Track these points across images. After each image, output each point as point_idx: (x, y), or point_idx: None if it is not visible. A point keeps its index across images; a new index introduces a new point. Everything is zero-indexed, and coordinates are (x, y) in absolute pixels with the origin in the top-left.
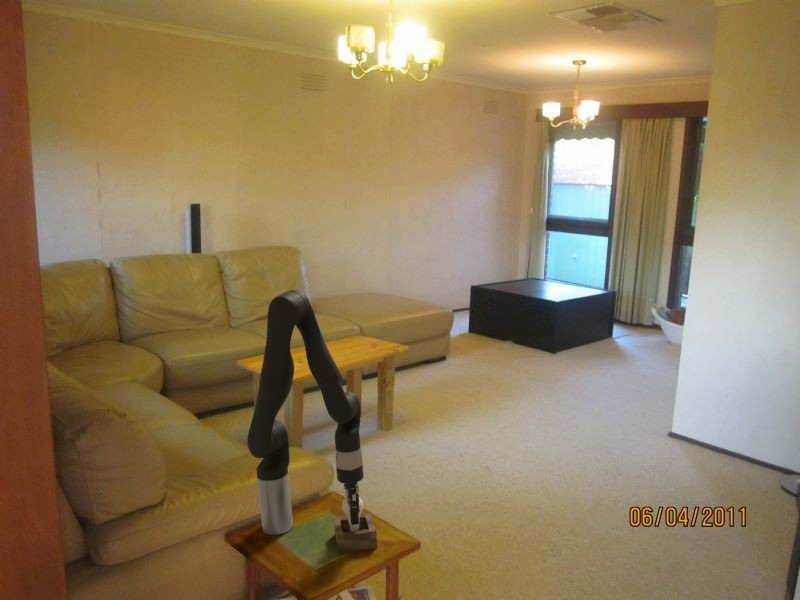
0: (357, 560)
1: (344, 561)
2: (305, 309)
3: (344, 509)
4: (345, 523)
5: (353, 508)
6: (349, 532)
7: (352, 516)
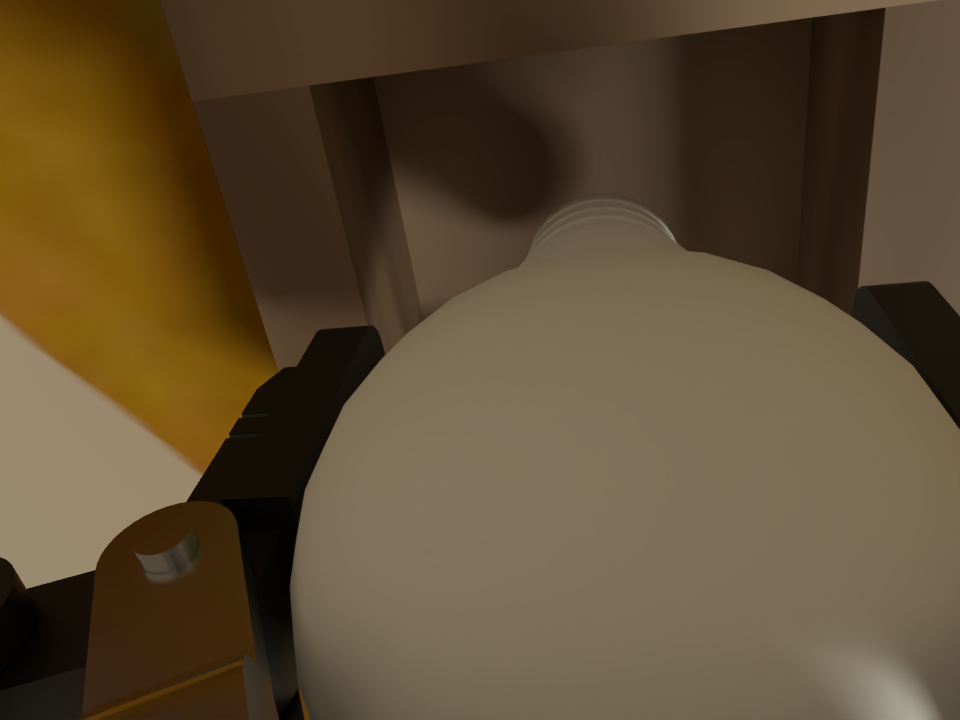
0: (131, 206)
1: (94, 37)
2: None
3: (390, 369)
4: (850, 107)
5: (56, 717)
6: (335, 213)
7: (203, 482)
